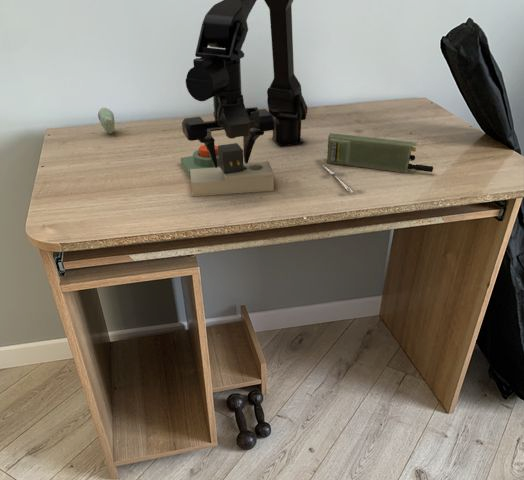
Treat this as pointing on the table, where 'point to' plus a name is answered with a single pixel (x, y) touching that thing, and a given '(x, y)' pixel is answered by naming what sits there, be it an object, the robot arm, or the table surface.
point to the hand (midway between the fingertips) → (231, 165)
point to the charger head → (230, 158)
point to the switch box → (197, 162)
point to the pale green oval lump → (106, 119)
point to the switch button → (206, 151)
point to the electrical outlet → (233, 179)
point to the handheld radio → (372, 153)
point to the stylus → (340, 181)
